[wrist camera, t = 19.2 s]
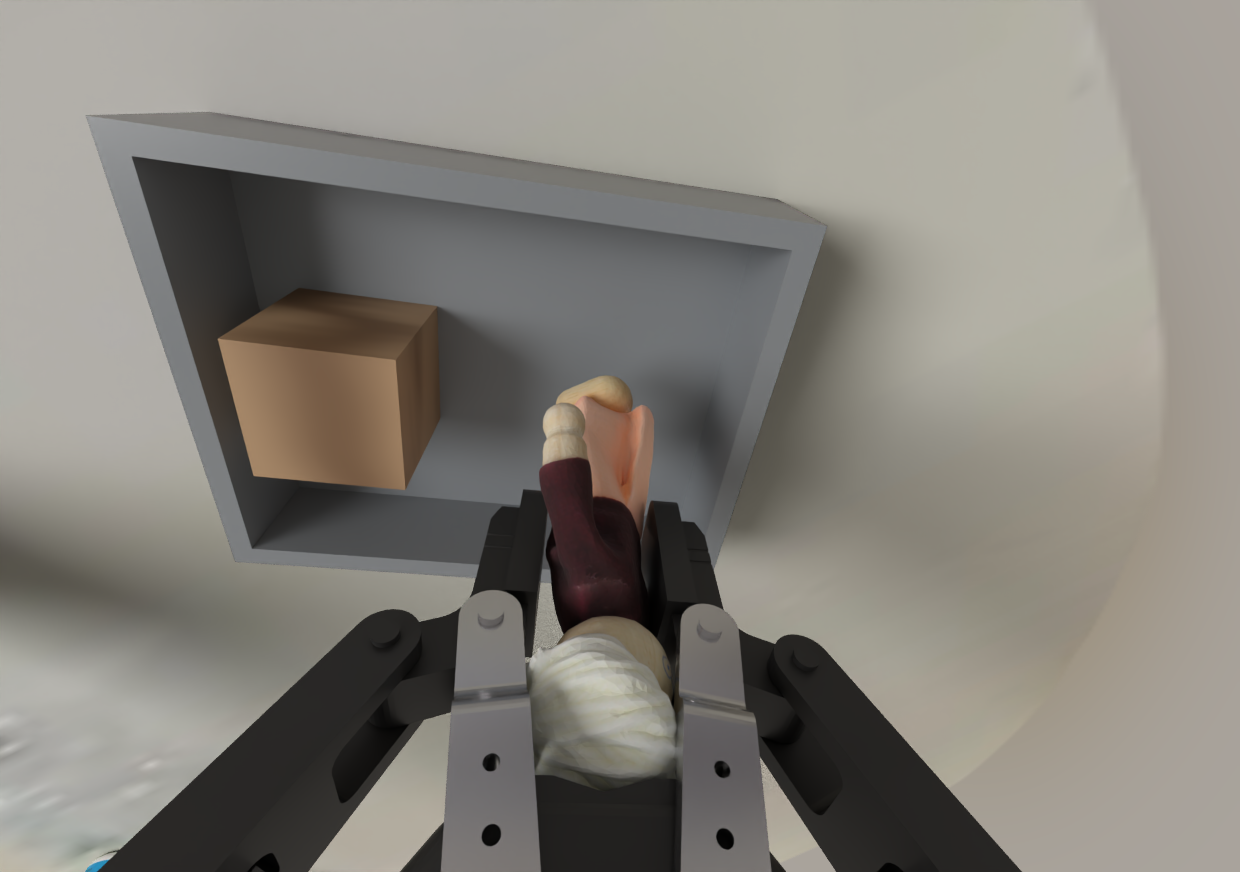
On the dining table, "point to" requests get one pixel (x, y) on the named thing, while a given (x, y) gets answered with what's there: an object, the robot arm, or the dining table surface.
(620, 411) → the grandmother figurine
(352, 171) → the tote
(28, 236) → the dining table surface
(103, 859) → the blue labelled canister
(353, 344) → the walnut block
